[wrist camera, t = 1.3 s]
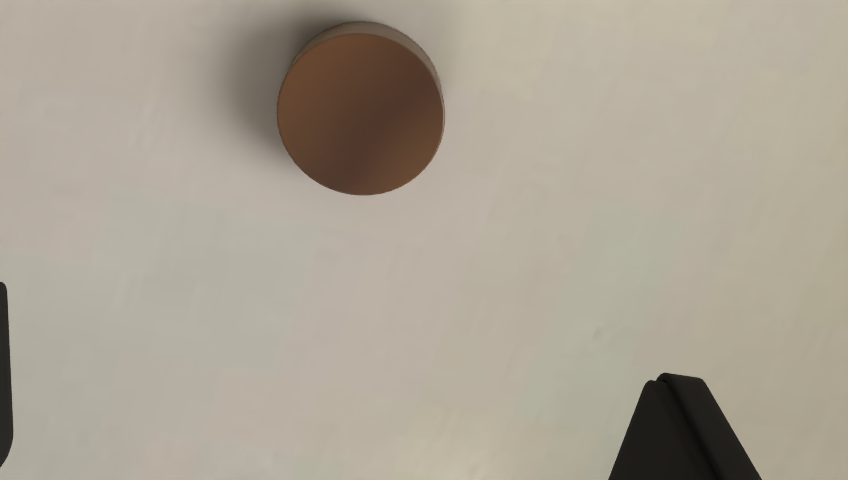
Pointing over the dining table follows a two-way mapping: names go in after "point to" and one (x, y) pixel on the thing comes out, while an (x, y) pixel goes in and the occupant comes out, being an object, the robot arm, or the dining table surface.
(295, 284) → the dining table surface
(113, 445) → the dining table surface
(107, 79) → the dining table surface
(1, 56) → the dining table surface
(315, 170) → the brown round disc
